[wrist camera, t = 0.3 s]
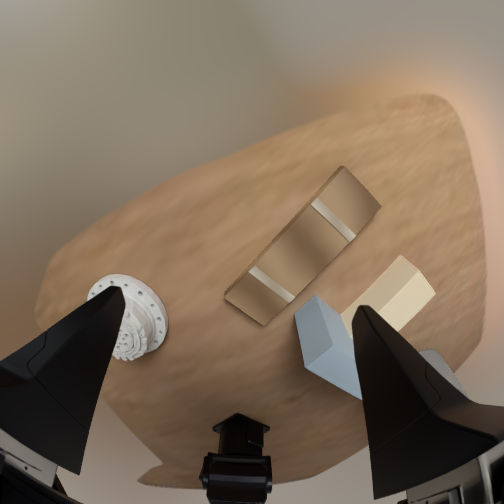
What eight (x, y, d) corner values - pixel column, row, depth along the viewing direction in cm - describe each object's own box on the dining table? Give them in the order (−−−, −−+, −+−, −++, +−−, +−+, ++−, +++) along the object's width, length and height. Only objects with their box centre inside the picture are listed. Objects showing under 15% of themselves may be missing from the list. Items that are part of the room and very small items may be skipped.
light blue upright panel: (360, 361, 30) (379, 409, 22) (294, 313, 27) (305, 367, 20) (431, 295, 27) (467, 333, 19) (378, 228, 24) (420, 260, 17)
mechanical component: (178, 347, 30) (157, 269, 26) (169, 373, 25) (141, 290, 22) (108, 344, 30) (82, 274, 27) (94, 365, 26) (61, 292, 22)
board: (263, 319, 28) (263, 326, 26) (225, 291, 26) (223, 298, 25) (376, 203, 23) (382, 206, 22) (340, 165, 22) (345, 166, 21)
